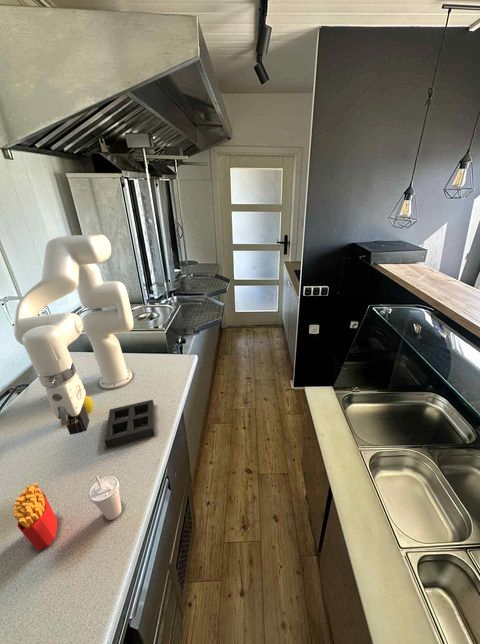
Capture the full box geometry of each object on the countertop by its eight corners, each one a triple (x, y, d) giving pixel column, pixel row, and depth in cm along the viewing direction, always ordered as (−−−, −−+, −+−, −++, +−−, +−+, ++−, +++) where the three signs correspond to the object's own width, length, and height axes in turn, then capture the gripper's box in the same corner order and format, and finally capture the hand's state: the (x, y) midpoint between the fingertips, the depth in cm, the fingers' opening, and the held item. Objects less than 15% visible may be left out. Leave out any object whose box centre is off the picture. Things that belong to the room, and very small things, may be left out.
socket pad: (112, 416, 102) (109, 409, 101) (154, 406, 107) (152, 399, 105) (106, 448, 90) (104, 440, 89) (154, 436, 94) (152, 428, 93)
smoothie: (107, 499, 76) (93, 463, 70) (131, 499, 76) (119, 464, 69) (94, 525, 70) (77, 489, 64) (119, 526, 70) (105, 490, 64)
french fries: (53, 548, 66) (32, 514, 60) (31, 557, 64) (7, 524, 59) (59, 510, 73) (42, 477, 68) (40, 518, 72) (20, 485, 66)
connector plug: (73, 423, 81) (67, 408, 78) (89, 420, 82) (83, 404, 79) (70, 434, 78) (62, 418, 75) (86, 430, 79) (80, 414, 76)
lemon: (88, 420, 101) (81, 403, 98) (75, 418, 102) (67, 401, 99) (99, 409, 106) (93, 392, 102) (86, 407, 107) (80, 390, 103)
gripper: (65, 391, 65) (88, 446, 74) (81, 352, 80) (99, 402, 88) (27, 398, 63) (55, 454, 71) (50, 357, 78) (72, 408, 86)
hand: (79, 425), depth 80 cm, fingers closed on connector plug, 4 cm apart
